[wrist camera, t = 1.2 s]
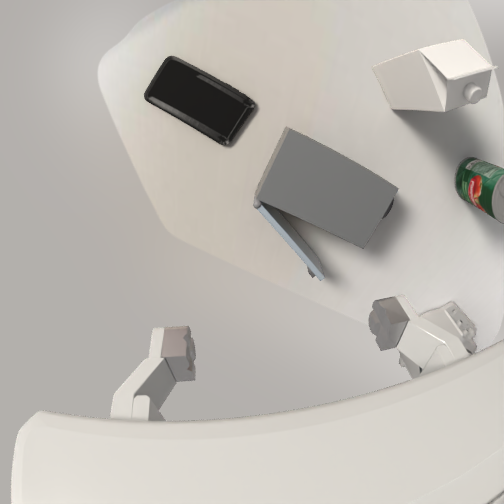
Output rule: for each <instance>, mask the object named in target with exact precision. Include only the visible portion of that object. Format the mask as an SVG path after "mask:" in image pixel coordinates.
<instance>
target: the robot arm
mask: <svg viewBox="0 0 504 504" xmlns="http://www.w3.org/2000/svg"><path fill="white" fill-rule="evenodd" d="M372 308H373V309H374V310H373V311H372V312H371V313H370V315H369V327H370V330H371V332H372V333H373V334H375V335H376V336H377V337H376V342H377V344H378V346H379V348H380V350H381V351H382V350H387V349H391V348H395V347H397V349H398V350H399V352H400V359H399V364H400V365H401V366H402V367H406V368H407V370H408V372H409V374H410V376H411V377H412V380H409V381H406V382H403V383H400V384H397V385H394V386H391V387H387V388H384V389H381V390H377V391H374V392H371V393H367V394H363V395H359V396H356V397H352V398H348V399H344V400H339V401H335V402H331V403H326V404H322V405H317V406H312V407H307V408H301V409H296V410H290V411H284V412H277V413H270V414H264V415H255V416H247V417H237V418H226V419H212V420H192V421H166V420H165V419H164V418H163V416H162V415H161V413H160V412H159V409H160V407H161V406H162V404H163V403H164V401H165V400H166V398H167V397H168V395H169V394H170V392H171V390H172V389H173V387H174V386H175V384H176V382H179V381H192V380H195V365H194V360H195V356H196V355H195V345H194V341H193V338H191V331H190V328H189V326H181V327H163V328H154V329H153V332H152V338H151V345H150V352H149V358H146V359H144V361H143V362H142V363H141V364H140V365H139V366H138V367H137V369H136V370H135V371H134V372H133V373H132V374H131V375H130V376H129V377H128V379H127V380H126V381H125V382H124V383H123V384H122V385H121V386H120V388H119V389H118V390H117V391H116V392H115V393H114V396H113V402H112V409H111V415H110V419H106V418H95V417H86V416H78V415H71V414H63V413H57V412H51V411H44V410H43V411H38V412H37V413H36V414H35V415H33V416H32V417H31V418H30V419H29V420H28V421H27V422H26V423H25V424H24V425H23V426H22V428H21V429H20V430H19V432H18V435H17V439H16V444H15V450H14V457H13V466H12V480H11V501H12V502H11V504H504V339H503V340H501V341H500V342H498V343H496V344H494V345H492V346H490V347H488V348H486V349H484V350H482V351H480V352H477V353H475V351H476V347H477V345H476V343H475V342H474V340H473V337H474V336H475V335H476V333H475V332H476V327H475V325H474V324H473V323H472V322H471V321H470V319H469V318H468V317H467V316H466V315H465V314H464V313H463V312H462V311H461V309H460V308H459V307H458V306H457V305H456V304H455V303H454V302H450V303H448V304H446V305H444V306H443V307H441V308H439V309H435V310H431V311H428V312H426V313H424V314H422V315H420V316H418V315H417V313H416V311H415V310H414V308H413V307H412V306H411V304H410V303H409V301H408V300H407V298H406V297H405V296H404V295H399V296H394V297H389V298H384V299H379V300H375V301H374V302H373V305H372ZM474 353H475V354H474Z"/></svg>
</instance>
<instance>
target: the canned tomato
mask: <svg viewBox="0 0 504 504" xmlns="http://www.w3.org/2000/svg"><path fill="white" fill-rule="evenodd" d="M455 188H456V191H457V193H458V195H459V196H460V197H461V198H462V199H463V200H466V201H467V202H469V203H471V204H472V205H474V206H476V207H477V208H479V209H481V210H482V211H484V212H485V213H487V214H489V215H490V216H492V217H493V218H495V219H497V220H498V221H499V222H501V223H504V169H503V168H501V167H498V166H496V165H493V164H490V163H487V162H485V161H482V160H479V159H477V158H473V157H469V158H466V159H464V160H463V161H462V162H461V163H460V164H459V166H458V168H457V170H456V173H455Z"/></svg>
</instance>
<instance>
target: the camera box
mask: <svg viewBox="0 0 504 504" xmlns="http://www.w3.org/2000/svg"><path fill="white" fill-rule="evenodd" d="M398 189H399V188H397V187H396V186H394V185H392V184H391V183H389V182H388V181H386V180H385V179H383V178H382V177H380V176H378V175H377V174H375V173H373V172H372V171H370V170H368V169H367V168H365V167H363V166H361V165H360V164H358V163H356V162H354V161H353V160H351V159H349V158H347V157H345V156H344V155H342V154H340V153H338V152H336V151H334V150H332V149H330V148H329V147H327V146H325V145H323V144H321V143H319V142H317V141H315V140H313V139H311V138H309V137H307V136H305V135H303V134H301V133H299V132H297V131H295V130H292V129H290V128H288V127H286V128H285V130H284V132H283V134H282V136H281V138H280V140H279V142H278V144H277V146H276V148H275V151H274V153H273V155H272V157H271V159H270V161H269V163H268V165H267V167H266V169H265V172H264V174H263V176H262V178H261V180H260V182H259V184H258V189H257V196H256V199H258V200H260V201H262V202H264V203H267V204H269V205H271V206H273V207H276V208H278V209H280V210H282V211H285V212H287V213H289V214H291V215H293V216H296V217H298V218H300V219H302V220H304V221H306V222H309V223H311V224H313V225H315V226H317V227H319V228H321V229H323V230H326V231H328V232H330V233H332V234H334V235H336V236H338V237H340V238H342V239H344V240H346V241H348V242H350V243H352V244H354V245H356V246H359V247H361V248H363V249H364V247H365V245H366V244H367V242H368V241H369V239H370V237H371V236H372V234H373V232H374V231H375V229H376V227H377V226H378V224H379V222H380V221H381V219H383V218H384V217H385V216H386V215H387V214H388V213H389V211H390V210H391V208H392V205H393V201H394V196H395V194H396V193H397V191H398Z"/></svg>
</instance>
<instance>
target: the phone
mask: <svg viewBox="0 0 504 504" xmlns="http://www.w3.org/2000/svg"><path fill="white" fill-rule="evenodd" d="M144 98H145V100H146V101H147V102H149V103H151V104H153V105H155V106H156V107H158V108H160V109H162V110H164V111H165V112H167V113H169V114H171V115H172V116H174V117H176V118H178V119H179V120H181V121H183V122H184V123H186V124H188V125H190V126H191V127H193V128H195V129H196V130H198V131H200V132H201V133H203V134H205V135H206V136H208V137H209V138H211V139H213V140H214V141H216V142H218V143H219V144H221V145H226V144H228V143H230V142H231V141H232V139H233V138H234V136H235V135H236V133H237V132H238V130H239V129H240V128H241V126H242V125H243V123H244V122H245V120H246V119H247V117H248V116H249V115H250V113H251V112H252V110H253V109H254V102H253V100H252V99H250V98H249V97H247V96H246V95H245V94H243V93H241V92H239V90H237V89H235V88H234V87H233V88H232V86H230V85H229V84H227V83H224V82H222V81H220V80H219V79H217V78H215V77H213V76H211V75H210V74H208V73H206V72H204V71H202V70H200V69H199V68H197V67H195V66H193V65H191V64H189V63H187V62H185V61H183V60H181V59H179V58H177V57H175V56H169V57H167V58H166V59H165V60H164V62H163V63H162V65H161V66H160V68H159V70H158V71H157V73H156V74H155V76H154V78H153V79H152V81H151V83H150V84H149V86H148V88H147V89H146V91H145V93H144Z"/></svg>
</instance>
